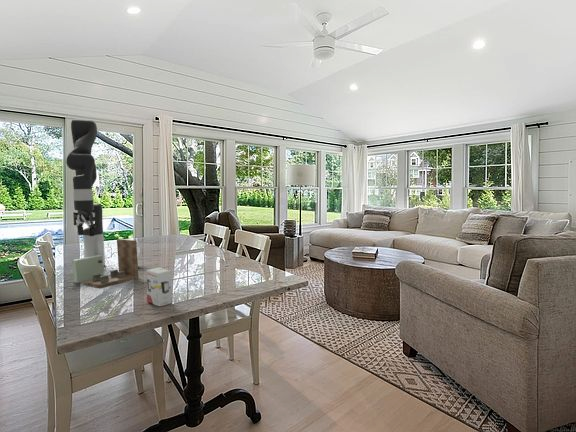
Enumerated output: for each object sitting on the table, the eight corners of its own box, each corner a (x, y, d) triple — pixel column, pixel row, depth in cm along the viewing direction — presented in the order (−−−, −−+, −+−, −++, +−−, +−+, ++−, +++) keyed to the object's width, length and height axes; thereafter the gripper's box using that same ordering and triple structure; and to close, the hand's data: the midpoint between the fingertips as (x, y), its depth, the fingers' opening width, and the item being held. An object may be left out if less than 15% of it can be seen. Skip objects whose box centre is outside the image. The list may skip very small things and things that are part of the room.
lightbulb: (135, 267, 175) (134, 246, 174) (125, 267, 176) (123, 246, 175) (143, 264, 181) (142, 244, 180) (132, 264, 182) (131, 244, 181)
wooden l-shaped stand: (83, 284, 146) (80, 244, 144) (122, 274, 162) (119, 238, 160) (100, 288, 140) (97, 246, 138) (138, 277, 156) (136, 240, 154)
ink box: (146, 302, 122) (144, 269, 121) (159, 298, 126) (158, 267, 125) (159, 307, 116) (157, 273, 115) (172, 303, 120) (171, 270, 119)
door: (74, 282, 149) (72, 260, 149) (100, 275, 160) (99, 254, 159) (78, 283, 148) (76, 260, 147) (105, 276, 158) (103, 255, 157)
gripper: (101, 199, 150) (103, 235, 152) (83, 198, 157) (85, 233, 159) (84, 200, 144) (87, 237, 146) (65, 199, 151) (68, 235, 153)
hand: (86, 235), depth 152 cm, fingers open, 8 cm apart
